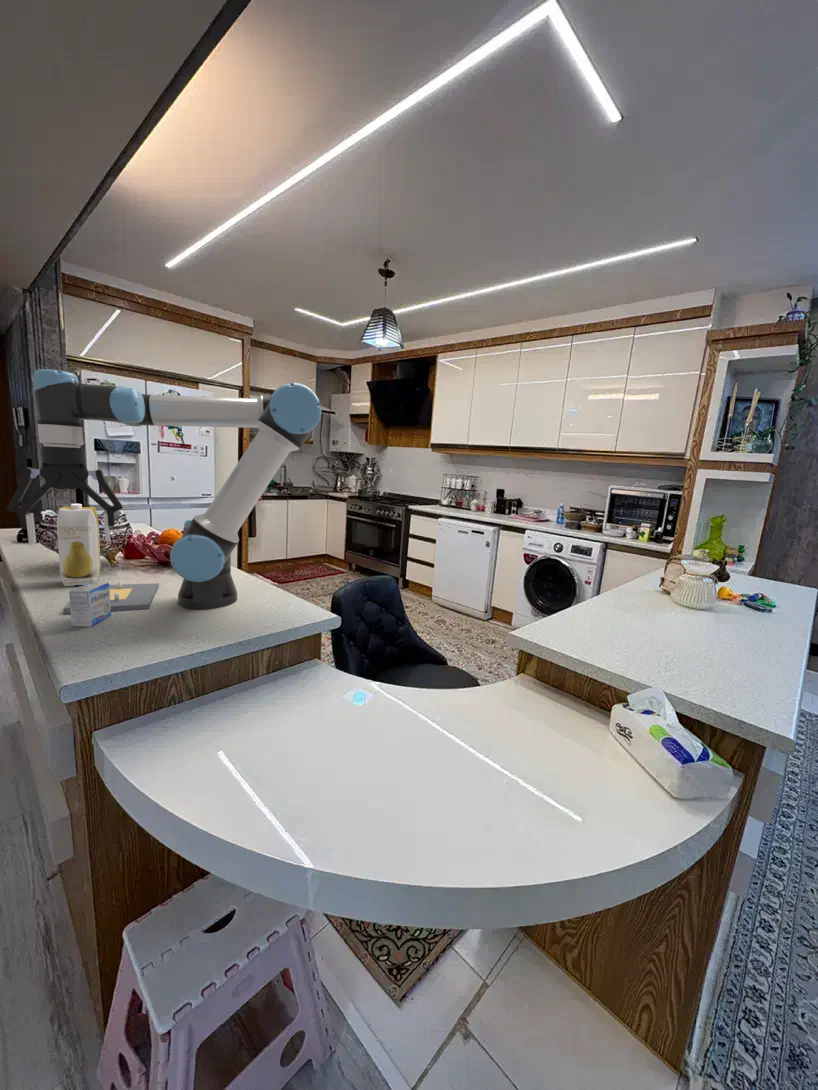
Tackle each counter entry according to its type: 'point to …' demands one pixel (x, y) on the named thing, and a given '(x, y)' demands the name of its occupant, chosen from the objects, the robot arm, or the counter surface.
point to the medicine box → (90, 604)
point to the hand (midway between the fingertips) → (71, 542)
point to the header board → (128, 596)
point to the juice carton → (78, 545)
